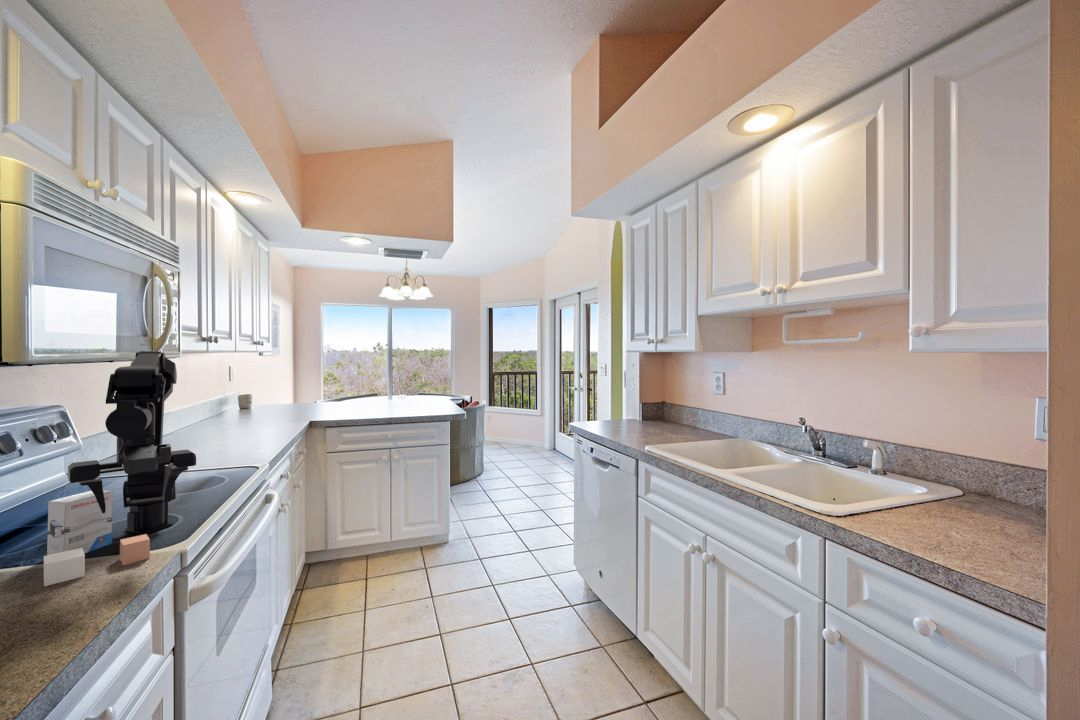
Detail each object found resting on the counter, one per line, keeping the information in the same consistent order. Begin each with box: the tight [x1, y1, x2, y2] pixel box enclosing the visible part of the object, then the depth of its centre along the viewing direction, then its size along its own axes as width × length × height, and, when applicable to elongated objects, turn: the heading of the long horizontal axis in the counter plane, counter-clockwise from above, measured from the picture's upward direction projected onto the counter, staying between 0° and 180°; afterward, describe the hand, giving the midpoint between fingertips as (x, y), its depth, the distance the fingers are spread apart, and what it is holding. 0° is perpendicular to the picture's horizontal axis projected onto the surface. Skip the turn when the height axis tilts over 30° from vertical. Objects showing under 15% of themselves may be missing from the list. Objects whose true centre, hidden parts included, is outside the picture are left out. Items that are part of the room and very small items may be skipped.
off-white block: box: [43, 548, 86, 587], centre depth 83 cm, size 5×5×4 cm
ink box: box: [46, 489, 114, 556], centre depth 93 cm, size 9×5×12 cm, turn 168°
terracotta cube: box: [119, 533, 151, 566], centre depth 90 cm, size 4×4×4 cm
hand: (135, 507), depth 90 cm, fingers open, 9 cm apart
